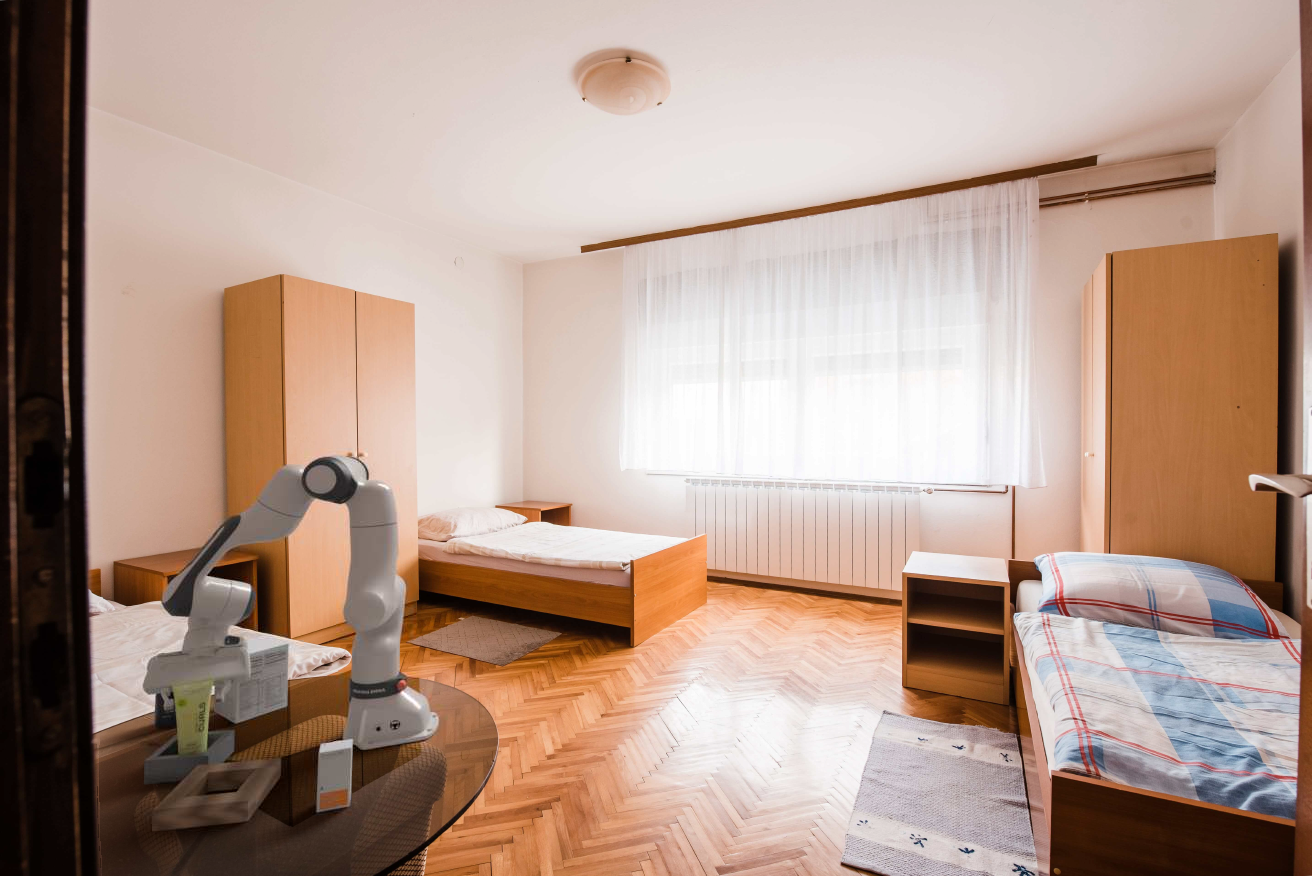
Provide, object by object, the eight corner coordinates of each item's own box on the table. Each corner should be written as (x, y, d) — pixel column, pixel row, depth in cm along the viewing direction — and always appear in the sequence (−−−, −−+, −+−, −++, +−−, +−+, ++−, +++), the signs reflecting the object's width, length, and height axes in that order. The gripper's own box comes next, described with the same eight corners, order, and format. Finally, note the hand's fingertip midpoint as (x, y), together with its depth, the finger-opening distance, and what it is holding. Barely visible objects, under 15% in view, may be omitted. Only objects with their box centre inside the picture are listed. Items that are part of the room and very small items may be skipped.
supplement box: (288, 706, 166) (290, 643, 166) (235, 724, 155) (236, 657, 155) (265, 695, 173) (266, 634, 174) (212, 711, 162) (213, 647, 162)
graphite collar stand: (234, 750, 142) (234, 729, 142) (207, 778, 130) (208, 755, 130) (176, 755, 139) (176, 734, 140) (143, 784, 128) (144, 760, 128)
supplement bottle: (168, 731, 151) (170, 683, 151) (147, 728, 152) (148, 681, 152) (194, 719, 158) (196, 673, 158) (173, 716, 159) (174, 671, 159)
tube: (186, 775, 131) (188, 686, 132) (169, 771, 133) (171, 683, 133) (212, 762, 137) (214, 676, 137) (196, 758, 138) (198, 674, 138)
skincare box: (316, 814, 119) (317, 753, 119) (318, 802, 122) (319, 743, 123) (350, 807, 121) (351, 747, 121) (351, 795, 125) (353, 737, 125)
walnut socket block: (280, 776, 132) (281, 758, 132) (247, 821, 116) (248, 800, 116) (197, 784, 128) (198, 765, 128) (152, 831, 113) (152, 809, 113)
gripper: (147, 648, 139) (132, 707, 130) (253, 636, 148) (245, 691, 139) (152, 661, 143) (138, 719, 134) (255, 649, 152) (248, 702, 143)
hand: (194, 704), depth 137 cm, fingers open, 8 cm apart
